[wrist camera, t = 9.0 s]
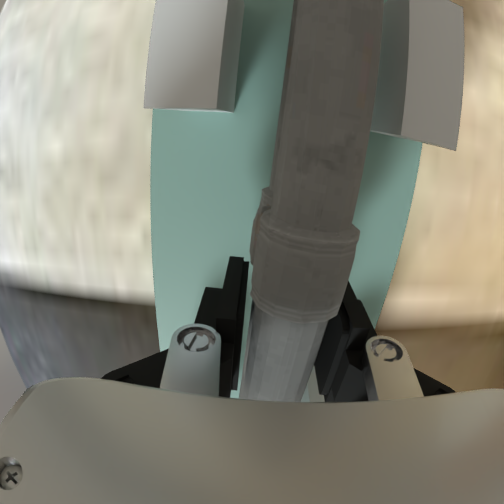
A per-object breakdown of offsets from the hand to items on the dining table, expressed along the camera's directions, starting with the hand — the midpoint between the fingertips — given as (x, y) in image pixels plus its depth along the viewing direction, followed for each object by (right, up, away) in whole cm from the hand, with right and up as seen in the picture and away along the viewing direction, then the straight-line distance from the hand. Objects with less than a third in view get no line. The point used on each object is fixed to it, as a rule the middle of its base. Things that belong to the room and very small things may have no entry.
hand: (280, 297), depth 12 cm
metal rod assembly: (0, 0, +1) cm, 1 cm away
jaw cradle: (0, +2, +4) cm, 5 cm away
